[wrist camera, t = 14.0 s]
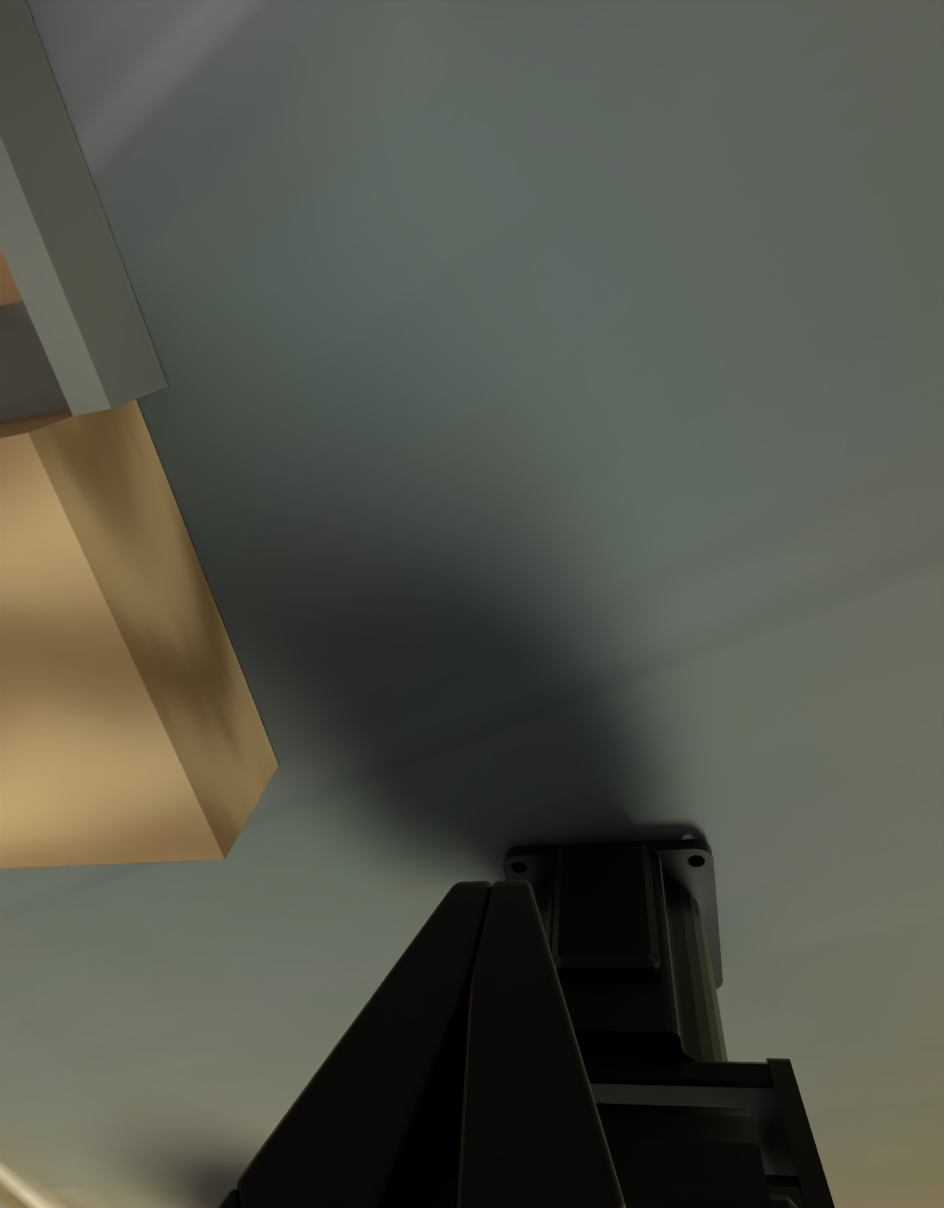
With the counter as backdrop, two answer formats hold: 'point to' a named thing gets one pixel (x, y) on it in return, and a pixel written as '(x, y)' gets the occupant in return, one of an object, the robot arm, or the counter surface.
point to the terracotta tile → (7, 284)
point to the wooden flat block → (112, 659)
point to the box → (58, 254)
